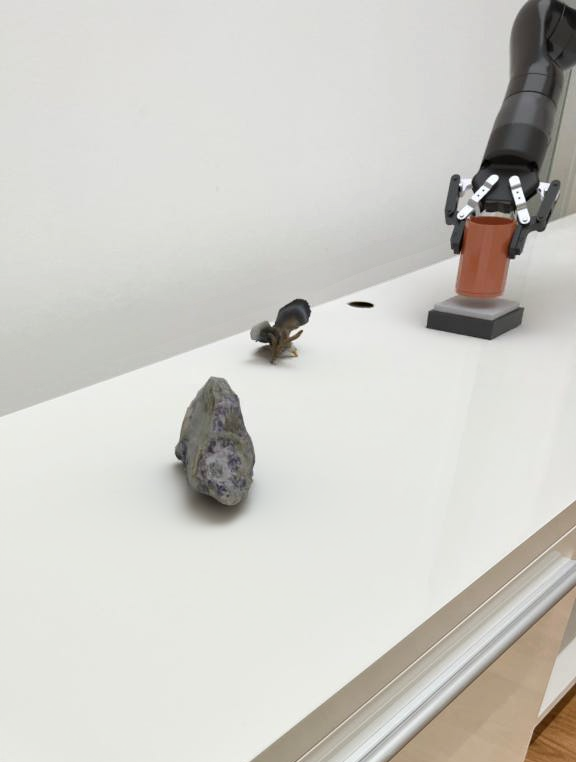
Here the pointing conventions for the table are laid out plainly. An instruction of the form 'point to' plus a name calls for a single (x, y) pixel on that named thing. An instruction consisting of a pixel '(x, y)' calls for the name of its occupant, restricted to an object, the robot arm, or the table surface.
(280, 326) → the grey-brown irregular figure
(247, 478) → the mineral rock
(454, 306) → the scale
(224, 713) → the table surface
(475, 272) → the cup
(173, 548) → the table surface
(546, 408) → the table surface
